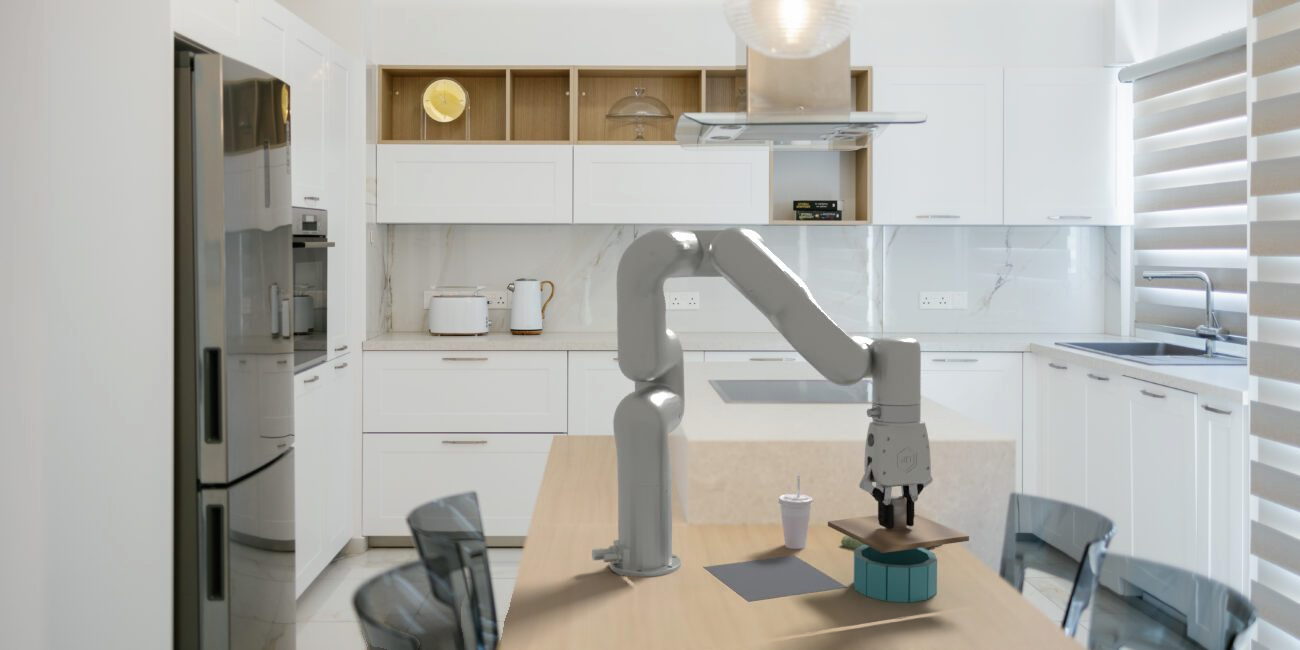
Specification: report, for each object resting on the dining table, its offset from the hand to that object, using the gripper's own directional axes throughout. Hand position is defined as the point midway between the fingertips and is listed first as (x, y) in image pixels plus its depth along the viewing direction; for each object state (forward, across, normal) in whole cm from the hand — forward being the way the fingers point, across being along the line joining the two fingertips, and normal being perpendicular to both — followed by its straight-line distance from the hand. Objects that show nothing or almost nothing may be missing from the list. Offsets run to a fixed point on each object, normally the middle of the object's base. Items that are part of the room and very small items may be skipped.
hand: (896, 524), depth 154 cm
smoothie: (+11, -4, +26) cm, 29 cm away
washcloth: (+12, +14, +21) cm, 28 cm away
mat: (+11, -16, +12) cm, 23 cm away
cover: (+1, 0, 0) cm, 1 cm away
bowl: (+11, 0, 0) cm, 11 cm away
